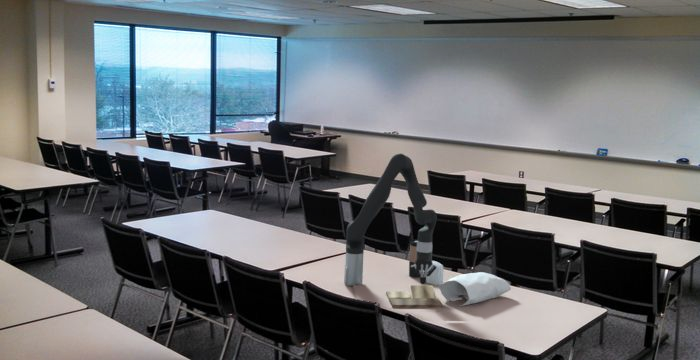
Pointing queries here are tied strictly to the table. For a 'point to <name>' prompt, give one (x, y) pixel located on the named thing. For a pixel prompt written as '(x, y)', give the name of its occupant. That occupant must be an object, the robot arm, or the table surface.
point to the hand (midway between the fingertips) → (422, 284)
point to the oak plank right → (423, 291)
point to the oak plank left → (397, 295)
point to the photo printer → (436, 274)
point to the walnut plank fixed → (415, 303)
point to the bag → (474, 287)
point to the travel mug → (413, 258)
